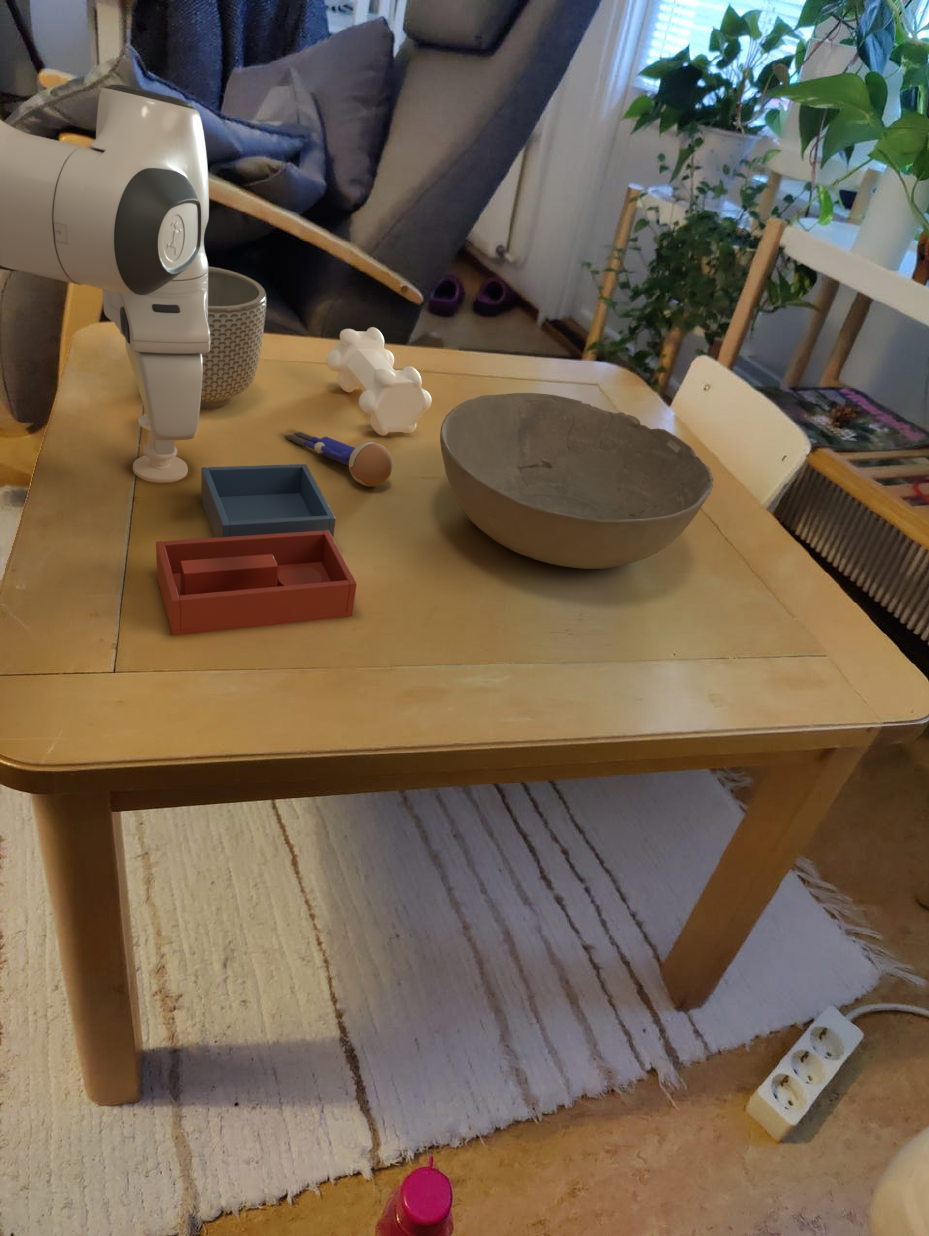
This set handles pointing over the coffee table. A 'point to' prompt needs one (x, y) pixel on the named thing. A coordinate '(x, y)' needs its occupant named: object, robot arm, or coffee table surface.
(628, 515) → the bowl
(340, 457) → the toy
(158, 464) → the candle
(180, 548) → the red bin
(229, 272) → the planter
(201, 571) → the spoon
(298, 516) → the blue bin
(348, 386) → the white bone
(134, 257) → the robot arm
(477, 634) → the coffee table surface
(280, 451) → the coffee table surface
